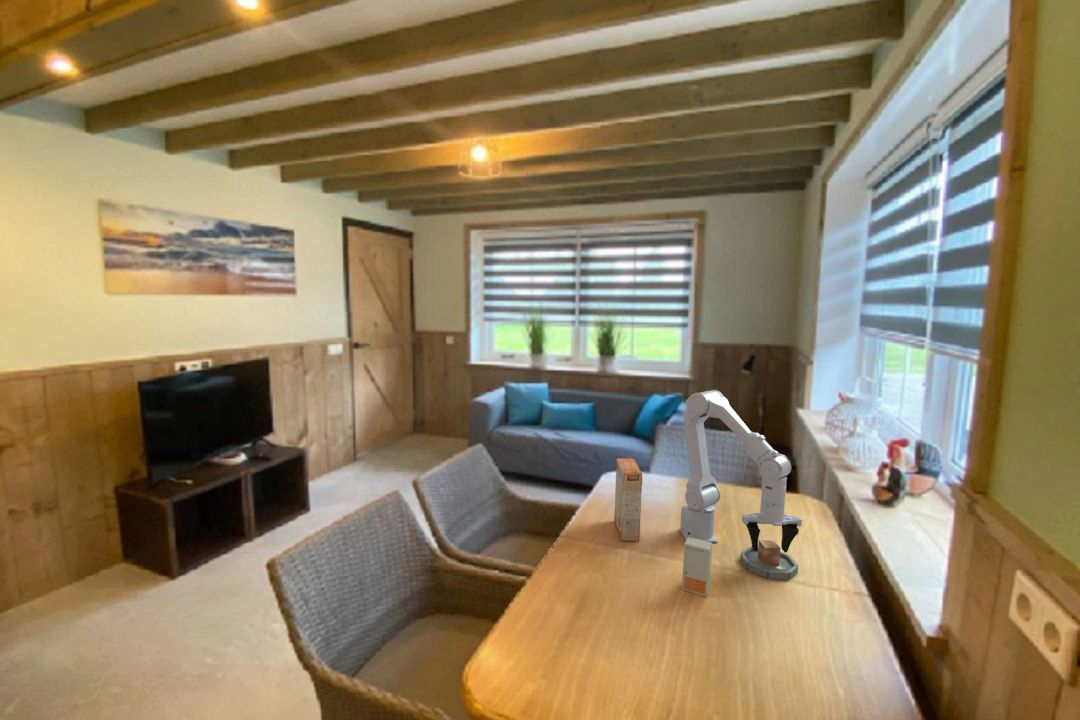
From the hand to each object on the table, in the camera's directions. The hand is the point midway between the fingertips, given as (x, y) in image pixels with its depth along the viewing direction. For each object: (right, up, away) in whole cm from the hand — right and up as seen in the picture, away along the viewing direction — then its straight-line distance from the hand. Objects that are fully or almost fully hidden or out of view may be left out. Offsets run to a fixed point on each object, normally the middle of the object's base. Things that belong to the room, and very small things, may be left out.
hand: (769, 549), depth 127 cm
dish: (0, -4, +1) cm, 4 cm away
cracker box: (-35, -2, +19) cm, 40 cm away
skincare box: (-23, -6, -10) cm, 26 cm away
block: (0, -3, +1) cm, 3 cm away
